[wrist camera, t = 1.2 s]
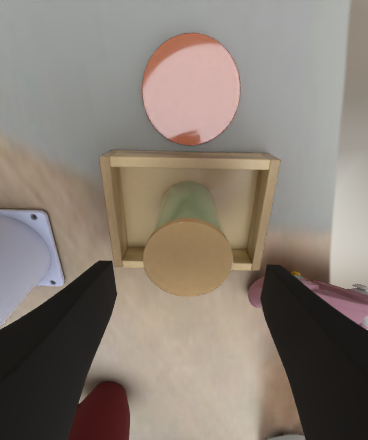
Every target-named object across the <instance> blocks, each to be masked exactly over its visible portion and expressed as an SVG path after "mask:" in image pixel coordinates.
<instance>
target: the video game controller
mask: <svg viewBox="0 0 368 440" xmlns="http://www.w3.org/2000/svg"><path fill="white" fill-rule="evenodd" d="M291 274H292V275H294V276H295V277H296V278H297V279H298V280H300V281H301V282H302V283H303V284H304V285H306V286H307V287H308V288H309V289H311V290H312V291H313V292H314V293H316V294H317V295H318V296H319V297H321V298H322V299H323V300H325V301H326V302H327V303H329V304H330V305H331V306H333V307H334V308H335V309H337V310H338V311H340V312H341V313H342V314H344V315H345V316H347V317H348V318H350V319H351V320H352V321H354V322H356V323H357V324H359V325H360V326H362V327H363V328H365V329H368V292H367V291H365V290H368V288H367V287H366V286H364V285H360V284H355V285H353V286H355V287H357V288H354V289H344V288H341V287H337V286H334V285H331V284H328V283H324V282H321V281H317V280H313V281H312V282H311V281H309V280H308V279H306V278H303V277H300V273H299V272H296V271H292V272H291ZM264 278H265V276H264V277H262V278H260V279H258V280H257V281H255V282H254V283H253V284H252V285H251V287H250V288H249V291H248V297H249V301H250V303H251V305H253V306H255V307H259V308H261V307H262V304H261V300H260V296H261V292H262V287H263V282H264Z"/></svg>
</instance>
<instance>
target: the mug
mask: <svg viewBox="0 0 368 440" xmlns="http://www.w3.org/2000/svg"><path fill="white" fill-rule="evenodd" d="M129 429H130V411H129V405H128V401H127V396H126V392H125V390H124V388H123V387H122V386H121V385H119V384H117V383H113V382H104V383H100V384H99V385H97V386H96V387H95V388H94V389H93V390H92V392H91V393H90V394H89V395H88V396H87V397H86V398H85V399H84V400H83V401H82V402H81V403H80V404H78V406H77V410H76V413H75V416H74V420H73V423H72V427H71V430H70V434H69V437H68V440H129Z"/></svg>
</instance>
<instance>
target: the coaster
mask: <svg viewBox="0 0 368 440" xmlns="http://www.w3.org/2000/svg"><path fill="white" fill-rule="evenodd" d="M142 97H143V103H144V108H145V110H146V113H147V116H148V118H149V120H150V121H151V123H152V124H153V126H154V127H155V128H156V129H157V131H158V132H159V133H161V134H162V135H163V136H164V137H166V138H167V139H169V140H171V141H173V142H175V143H178V144H182V145H199V144H203V143H206V142H208V141H210V140H212V139H214V138H216V137H217V136H218V135H220V134H221V133H222V132H223V131H224V130H225V129H226V128H227V126H228V125H229V124H230V122H231V121H232V119H233V117H234V115H235V113H236V110H237V107H238V104H239V99H240V78H239V73H238V70H237V67H236V64H235V62H234V60H233V58H232V56H231V55H230V53H229V52H228V51H227V50H226V48H225V47H224V46H223V45H221V44H220V43H219V42H218V41H216V40H215V39H213V38H211V37H209V36H207V35H203V34H198V33H185V34H181V35H177V36H175V37H173V38H171V39H169V40H167V41H166V42H164V43H163V44H162V45H161V46H160V47H159V48H158V49H157V50H156V51H155V52H154V54H153V55H152V57H151V58H150V60H149V62H148V64H147V67H146V69H145V72H144V77H143V83H142Z"/></svg>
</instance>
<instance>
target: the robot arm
mask: <svg viewBox="0 0 368 440" xmlns="http://www.w3.org/2000/svg"><path fill="white" fill-rule="evenodd" d="M33 214H34V215H36V217H37V218H35V217H34V215H33ZM54 281H55V282H54ZM64 282H65V280H64V276H63V272H62V268H61V265H60V261H59V257H58V253H57V249H56V245H55V242H54V238H53V234H52V230H51V226H50V222H49V219H48V215H47V213H46V212H44V211H42V210H10V209H0V326H1V325H2V324H3V323H4V322H5V320H6V319H7V318H8V317H9V316H10V315H11V314H12V312H13V311H14V310H15V309H16V308H17V307H18V306H19V304H20V303H21V302H22V301H23V300H24V299H25V298H26V296H27V295H28V294H29V293H30V292H31V291H32V290H33V288H34V287H35V286H62V285H63V284H64ZM116 296H117V292H116V284H115V277H114V270H113V263H112V261H98V262H97V263H95V264H94V265H93V266H91V267H90V268H89V269H88V270H86V271H85V272H84V273H83V274H82V275H80V276H79V277H78V278H76V279H75V280H74V281H73V282H71V283H70V284H69V285H68V286H66V287H65V288H64V289H62V290H61V291H60V292H58V293H57V294H55V295H54V296H53V297H51V298H50V299H48V300H47V301H46V302H44V303H43V304H41V305H40V306H38V307H37V308H35V309H34V310H32V311H31V312H29V313H28V314H26V315H24V316H23V317H21V318H20V319H18V320H16V321H15V322H13V323H11V324H9V325H8V326H6V327H4V328H2V329H0V440H68V437H69V434H70V430H71V427H72V423H73V420H74V416H75V413H76V410H77V406H78V403H79V399H80V396H81V393H82V390H83V387H84V383H85V380H86V377H87V374H88V371H89V369H90V366H91V363H92V361H93V358H94V356H95V354H96V351H97V349H98V346H99V344H100V342H101V339H102V337H103V334H104V332H105V330H106V327H107V325H108V322H109V320H110V317H111V315H112V311H113V308H114V304H115V300H116ZM260 300H261V304H262V309H263V312H264V316H265V320H266V322H267V325H268V328H269V330H270V333H271V335H272V338H273V340H274V343H275V345H276V348H277V351H278V353H279V356H280V358H281V361H282V363H283V366H284V368H285V371H286V374H287V377H288V379H289V382H290V386H291V389H292V393H293V396H294V399H295V403H296V406H297V410H298V413H299V417H300V421H301V424H302V428H303V432H304V435H305V439H306V440H368V330H366V329H365V328H363V327H362V326H360V325H359V324H357V323H356V322H354V321H352V320H351V319H350V318H348V317H347V316H345V315H344V314H342V313H341V312H340V311H338V310H337V309H335V308H334V307H333V306H331V305H330V304H329V303H327V302H326V301H325V300H323V299H322V298H321V297H319V296H318V295H317V294H316V293H314V292H313V291H312V290H311V289H309V288H308V287H307V286H306V285H304V284H303V283H302V282H301V281H300V280H298V279H297V278H296V277H295V276H294V275H292V274H291V273H290V272H289V271H287V270H286V269H285V268H284V267H282V266H281V265H267V268H266V273H265V278H264V282H263V287H262V292H261V296H260Z"/></svg>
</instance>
